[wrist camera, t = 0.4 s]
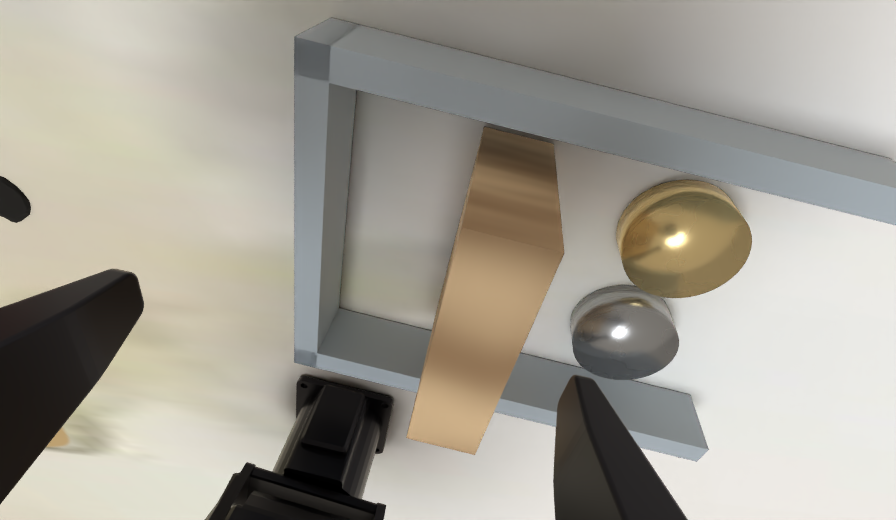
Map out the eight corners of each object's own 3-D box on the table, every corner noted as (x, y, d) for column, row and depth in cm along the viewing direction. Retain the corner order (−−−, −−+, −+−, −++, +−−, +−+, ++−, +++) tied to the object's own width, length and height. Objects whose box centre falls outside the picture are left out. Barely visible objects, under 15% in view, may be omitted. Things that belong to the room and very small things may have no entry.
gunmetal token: (642, 360, 27) (650, 389, 25) (557, 339, 27) (559, 366, 25) (687, 296, 24) (699, 324, 22) (591, 272, 23) (595, 298, 22)
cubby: (680, 406, 28) (696, 461, 25) (318, 317, 28) (294, 362, 25) (891, 158, 18) (956, 203, 15) (330, 17, 18) (294, 36, 15)
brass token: (697, 281, 23) (710, 309, 21) (599, 256, 23) (603, 282, 21) (759, 193, 20) (779, 218, 18) (645, 165, 20) (655, 187, 18)
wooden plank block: (488, 323, 26) (474, 454, 20) (436, 311, 26) (406, 438, 20) (553, 143, 20) (564, 253, 13) (484, 126, 20) (461, 227, 13)
